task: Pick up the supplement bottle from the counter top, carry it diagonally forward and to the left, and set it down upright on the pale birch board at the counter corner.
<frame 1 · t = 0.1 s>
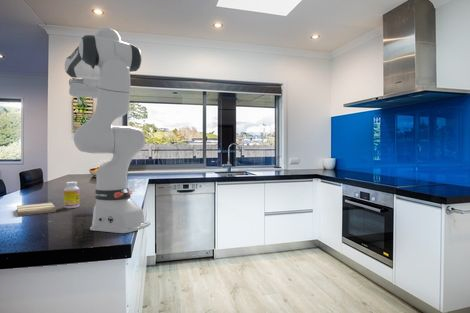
hand: (90, 104, 154), 54 cm above the countertop, tool tilted 30°, fingers open, 8 cm apart
supplement bottle: (71, 207, 141), on the countertop
birch board: (36, 210, 133), on the countertop
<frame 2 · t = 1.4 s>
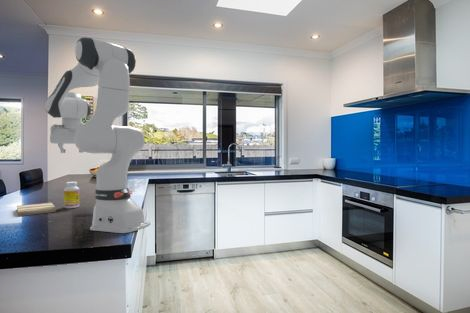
hand: (72, 152, 142), 28 cm above the countertop, tool pointing down, fingers open, 8 cm apart
nothing on the countertop moved.
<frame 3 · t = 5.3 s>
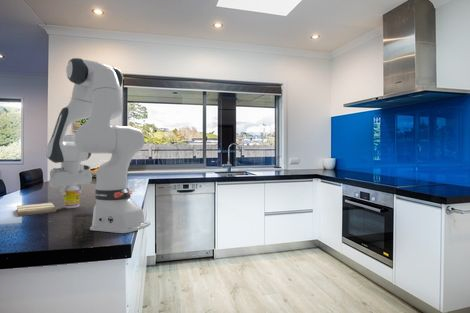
hand: (71, 194, 141), 7 cm above the countertop, tool pointing down, fingers closed on supplement bottle, 7 cm apart
supplement bottle: (71, 207, 141), on the countertop, touching gripper
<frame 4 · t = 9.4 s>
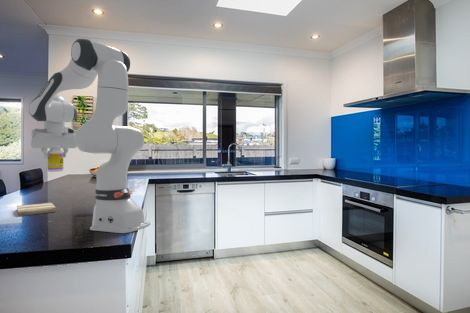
hand: (55, 157, 137), 25 cm above the countertop, tool pointing down, fingers closed on supplement bottle, 7 cm apart
supplement bottle: (55, 171, 137), point 18 cm above the countertop, touching gripper
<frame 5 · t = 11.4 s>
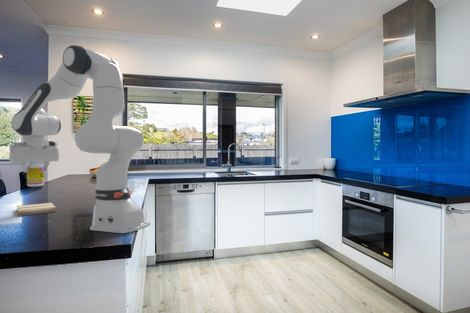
hand: (35, 171, 132), 19 cm above the countertop, tool pointing down, fingers closed on supplement bottle, 7 cm apart
supplement bottle: (35, 186, 132), point 12 cm above the countertop, touching gripper
when the fingers open (10 cm above the countertop, at t = 13.5 s): supplement bottle drops 1 cm, resting on birch board.
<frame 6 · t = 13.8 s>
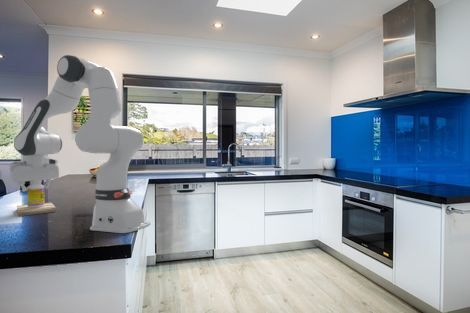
hand: (35, 189, 132), 10 cm above the countertop, tool pointing down, fingers open, 8 cm apart
supplement bottle: (36, 207, 132), point 2 cm above the countertop, touching birch board
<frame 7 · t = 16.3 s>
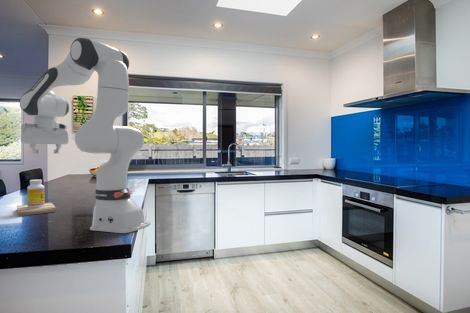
hand: (46, 153, 133), 27 cm above the countertop, tool pointing down, fingers open, 8 cm apart
nothing on the countertop moved.
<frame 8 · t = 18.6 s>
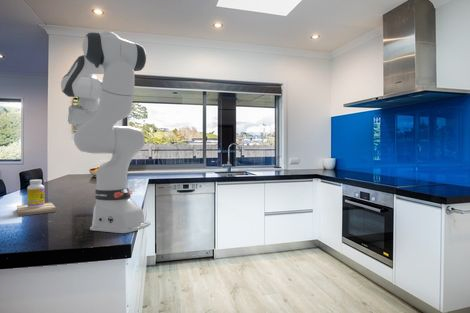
hand: (89, 134, 141), 37 cm above the countertop, tool pointing down, fingers open, 8 cm apart
nothing on the countertop moved.
at the end: supplement bottle inside the target area on the birch board (0.1 cm from its centre), point 1.8 cm above the birch board's base; supplement bottle tilted 0°; the gripper is holding nothing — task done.
